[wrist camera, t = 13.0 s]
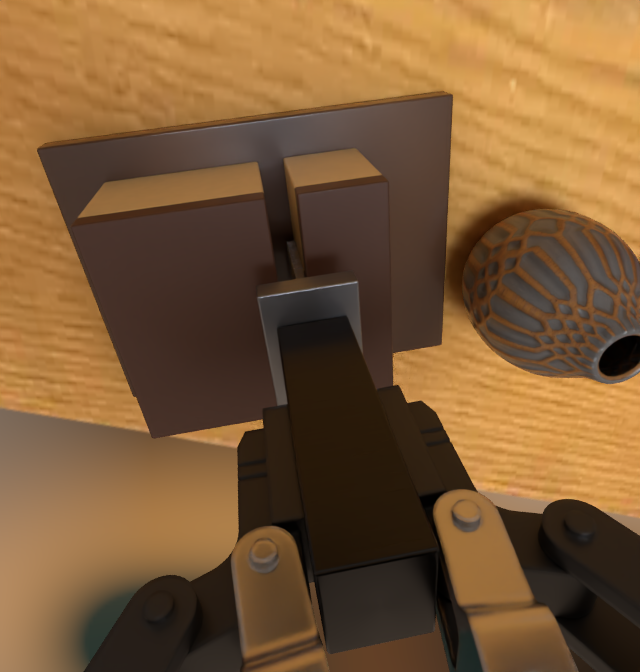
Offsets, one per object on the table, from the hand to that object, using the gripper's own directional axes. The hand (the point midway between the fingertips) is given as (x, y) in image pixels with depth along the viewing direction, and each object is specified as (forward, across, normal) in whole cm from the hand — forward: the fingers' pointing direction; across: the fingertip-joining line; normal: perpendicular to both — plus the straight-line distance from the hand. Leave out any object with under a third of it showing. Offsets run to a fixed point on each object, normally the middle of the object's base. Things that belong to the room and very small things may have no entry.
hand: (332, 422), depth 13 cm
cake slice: (+11, -2, 0) cm, 11 cm away
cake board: (+12, +1, 0) cm, 12 cm away
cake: (+11, +4, 0) cm, 11 cm away
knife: (+9, 0, 0) cm, 9 cm away
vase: (+12, -11, +2) cm, 16 cm away
